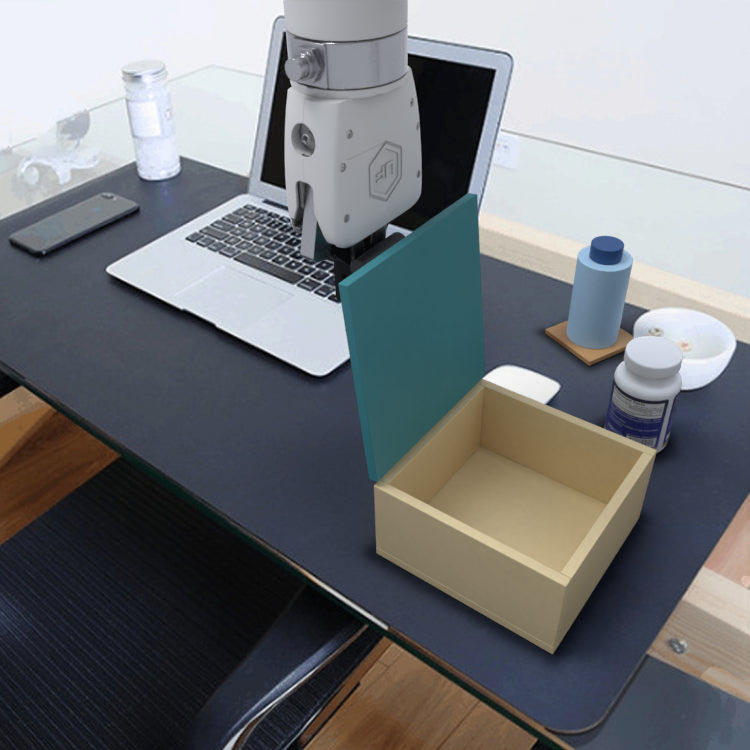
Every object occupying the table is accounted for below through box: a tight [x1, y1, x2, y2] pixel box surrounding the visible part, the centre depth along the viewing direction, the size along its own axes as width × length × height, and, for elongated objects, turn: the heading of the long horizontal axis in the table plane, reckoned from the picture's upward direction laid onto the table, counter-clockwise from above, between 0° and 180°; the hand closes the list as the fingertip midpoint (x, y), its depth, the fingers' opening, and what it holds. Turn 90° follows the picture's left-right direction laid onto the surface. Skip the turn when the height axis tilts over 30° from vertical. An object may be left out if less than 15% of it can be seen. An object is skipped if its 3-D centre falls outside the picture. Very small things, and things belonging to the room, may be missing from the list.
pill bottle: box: [603, 335, 684, 454], centre depth 71 cm, size 6×6×10 cm
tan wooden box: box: [373, 378, 657, 655], centre depth 62 cm, size 16×16×8 cm
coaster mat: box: [544, 319, 634, 367], centre depth 86 cm, size 7×7×1 cm
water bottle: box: [566, 235, 634, 349], centre depth 82 cm, size 5×5×11 cm
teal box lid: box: [338, 192, 486, 483], centre depth 60 cm, size 16×16×4 cm
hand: (358, 301), depth 61 cm, fingers closed
